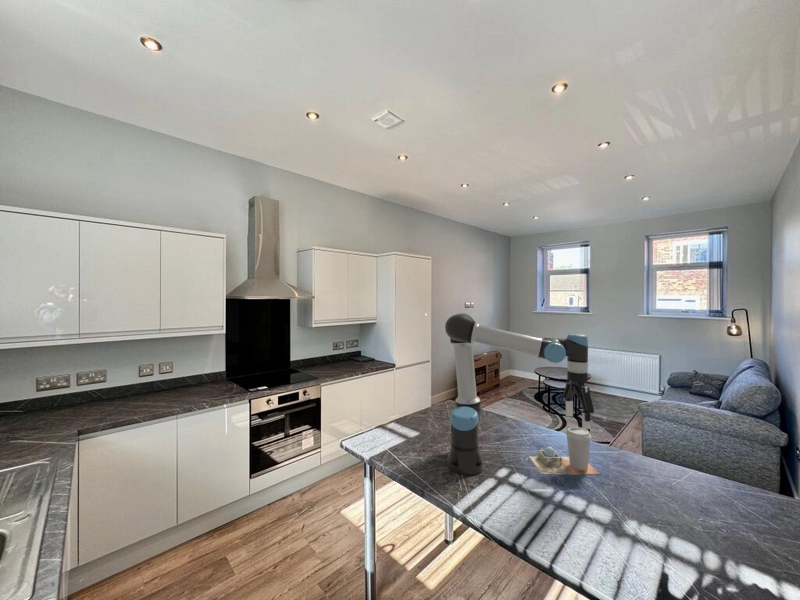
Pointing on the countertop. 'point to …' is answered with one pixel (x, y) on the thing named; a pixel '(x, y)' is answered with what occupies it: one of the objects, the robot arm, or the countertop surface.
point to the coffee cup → (578, 447)
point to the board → (558, 465)
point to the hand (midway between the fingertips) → (577, 422)
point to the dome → (549, 452)
